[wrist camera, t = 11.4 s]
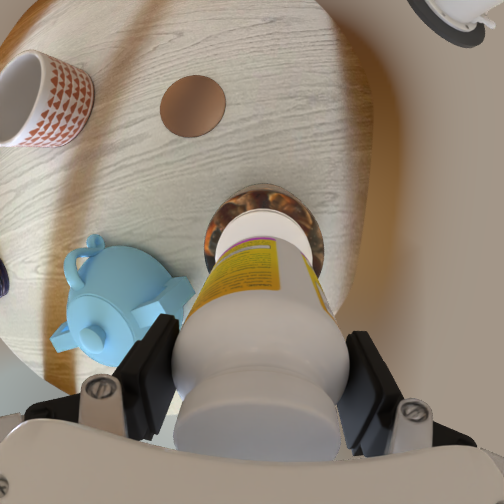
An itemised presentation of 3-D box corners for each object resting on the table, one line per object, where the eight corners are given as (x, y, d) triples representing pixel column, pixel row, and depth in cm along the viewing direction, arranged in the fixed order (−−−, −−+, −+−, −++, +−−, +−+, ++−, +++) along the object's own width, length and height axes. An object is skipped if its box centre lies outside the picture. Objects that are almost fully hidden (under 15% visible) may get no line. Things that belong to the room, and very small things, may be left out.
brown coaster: (228, 76, 33) (228, 74, 32) (222, 138, 35) (221, 137, 35) (165, 77, 33) (164, 76, 32) (158, 137, 35) (156, 137, 35)
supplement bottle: (196, 298, 19) (115, 451, 7) (243, 213, 17) (187, 310, 5) (280, 342, 20) (285, 508, 7) (333, 266, 18) (422, 413, 6)
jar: (204, 238, 39) (169, 276, 24) (253, 166, 36) (245, 161, 22) (274, 285, 40) (278, 346, 26) (325, 218, 37) (361, 246, 23)
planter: (55, 164, 37) (0, 167, 24) (28, 113, 34) (-22, 108, 22) (109, 101, 34) (57, 83, 22) (75, 55, 31) (29, 33, 19)
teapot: (79, 313, 43) (34, 352, 30) (101, 214, 39) (42, 233, 25) (172, 363, 45) (147, 420, 32) (213, 269, 40) (189, 314, 27)
